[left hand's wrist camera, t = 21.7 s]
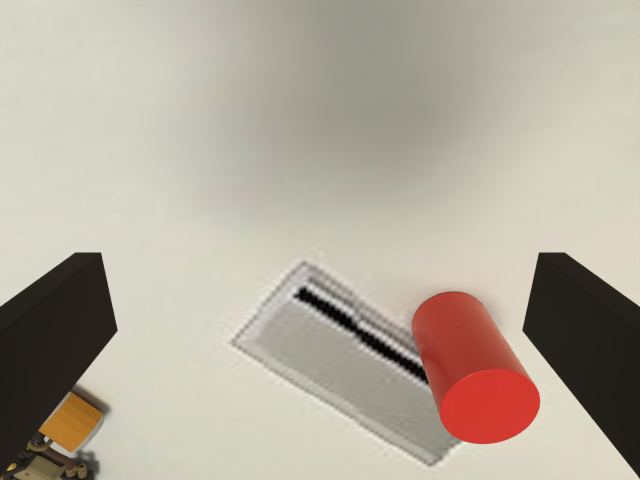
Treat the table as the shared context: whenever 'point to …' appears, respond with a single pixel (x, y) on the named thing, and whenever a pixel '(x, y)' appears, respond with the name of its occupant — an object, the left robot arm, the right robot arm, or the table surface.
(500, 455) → the table surface
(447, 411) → the can
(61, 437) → the spray gun
